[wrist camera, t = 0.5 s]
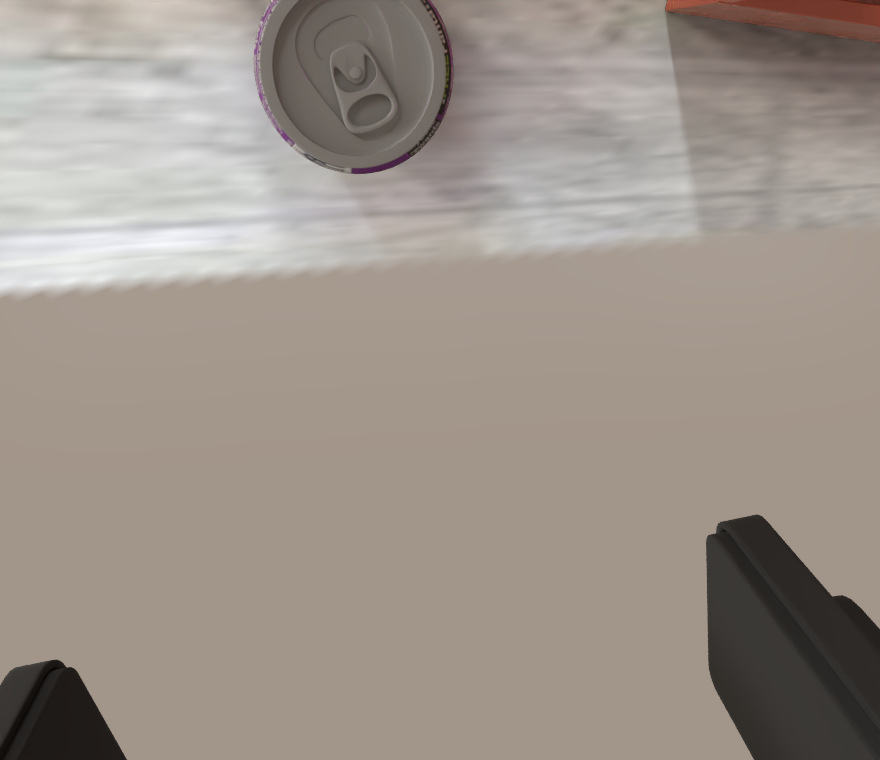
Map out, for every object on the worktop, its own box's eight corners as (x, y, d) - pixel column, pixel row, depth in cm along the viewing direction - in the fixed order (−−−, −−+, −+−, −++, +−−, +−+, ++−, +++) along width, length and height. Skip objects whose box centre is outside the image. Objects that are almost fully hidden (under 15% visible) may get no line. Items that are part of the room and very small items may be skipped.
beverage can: (452, 111, 35) (489, 135, 24) (323, 165, 36) (303, 213, 25) (398, -41, 32) (412, -91, 21) (258, 20, 33) (203, 2, 22)
